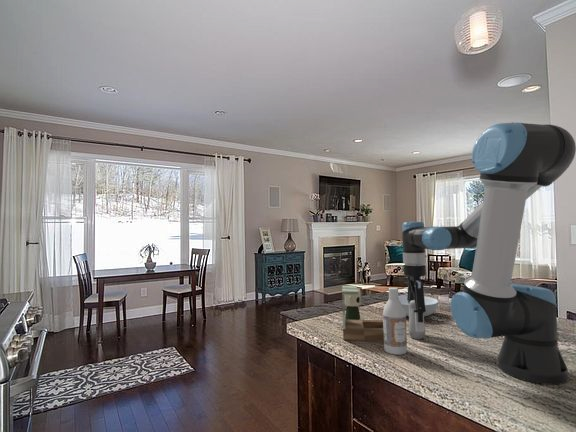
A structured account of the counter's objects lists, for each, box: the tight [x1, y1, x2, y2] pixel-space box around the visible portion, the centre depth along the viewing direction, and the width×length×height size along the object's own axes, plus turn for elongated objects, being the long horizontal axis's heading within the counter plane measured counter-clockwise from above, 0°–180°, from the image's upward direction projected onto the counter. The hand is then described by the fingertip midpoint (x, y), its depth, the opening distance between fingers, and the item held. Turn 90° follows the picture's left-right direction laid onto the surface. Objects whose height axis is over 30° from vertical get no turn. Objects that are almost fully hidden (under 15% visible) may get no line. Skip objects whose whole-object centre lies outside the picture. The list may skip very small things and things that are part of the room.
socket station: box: [341, 285, 384, 343], centre depth 119 cm, size 12×17×17 cm
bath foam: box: [382, 287, 408, 356], centre depth 104 cm, size 7×7×20 cm
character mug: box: [345, 288, 362, 320], centre depth 138 cm, size 11×7×13 cm, turn 158°
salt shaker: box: [407, 300, 426, 340], centre depth 116 cm, size 6×6×13 cm
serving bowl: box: [398, 294, 439, 318], centre depth 145 cm, size 21×21×7 cm
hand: (416, 326), depth 116 cm, fingers open, 10 cm apart
